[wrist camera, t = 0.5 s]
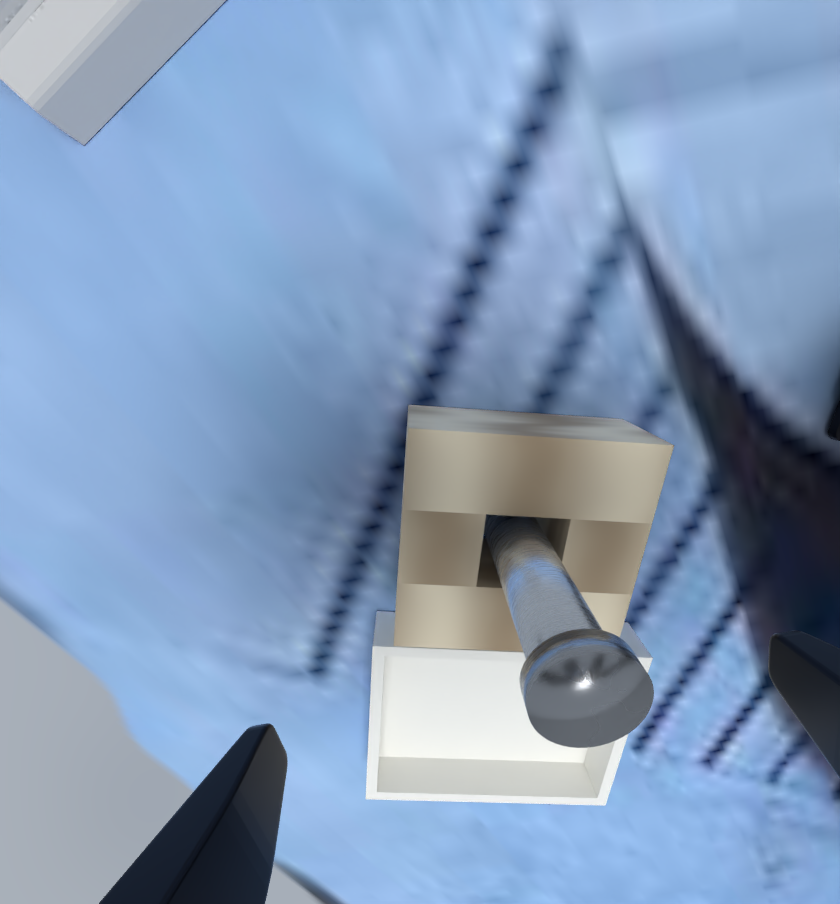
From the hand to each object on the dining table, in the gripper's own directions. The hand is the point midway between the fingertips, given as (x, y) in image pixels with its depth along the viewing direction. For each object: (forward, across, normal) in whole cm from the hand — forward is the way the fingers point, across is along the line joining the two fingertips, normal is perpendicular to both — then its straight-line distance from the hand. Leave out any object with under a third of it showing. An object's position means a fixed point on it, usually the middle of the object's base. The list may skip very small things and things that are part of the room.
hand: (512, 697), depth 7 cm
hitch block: (+13, -2, +3) cm, 14 cm away
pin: (+13, -2, +3) cm, 14 cm away
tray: (+13, +1, +15) cm, 20 cm away
